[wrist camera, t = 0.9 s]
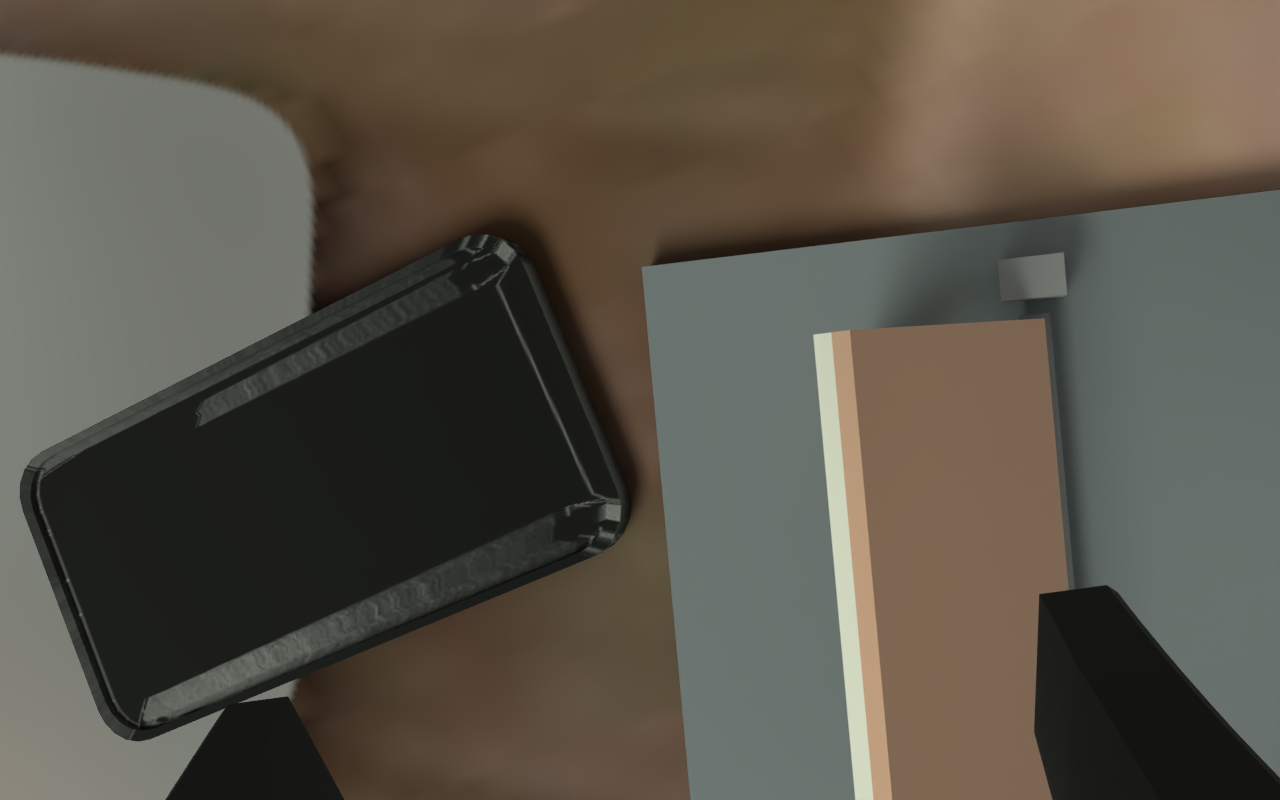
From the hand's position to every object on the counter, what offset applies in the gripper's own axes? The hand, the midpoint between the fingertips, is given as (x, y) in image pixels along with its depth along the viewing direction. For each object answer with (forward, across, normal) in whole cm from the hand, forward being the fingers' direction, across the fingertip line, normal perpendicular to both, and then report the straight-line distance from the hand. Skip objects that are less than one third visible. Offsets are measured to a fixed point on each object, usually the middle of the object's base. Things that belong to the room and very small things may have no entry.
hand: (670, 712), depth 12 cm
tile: (+8, -4, +8) cm, 12 cm away
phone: (+15, +9, +9) cm, 20 cm away
